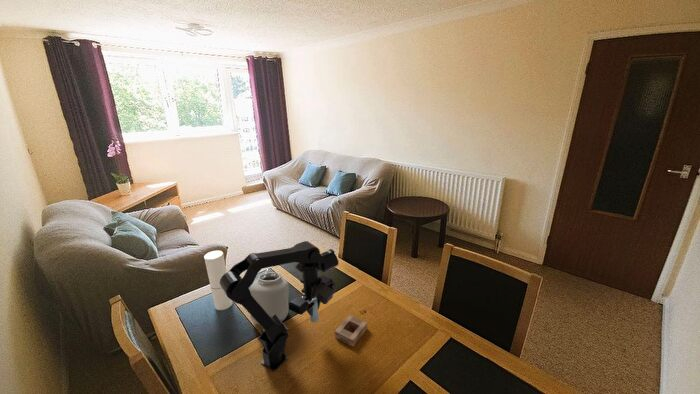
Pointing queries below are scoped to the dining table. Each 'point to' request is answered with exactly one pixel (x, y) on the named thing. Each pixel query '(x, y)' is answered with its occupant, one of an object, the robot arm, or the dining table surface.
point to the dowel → (315, 311)
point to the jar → (271, 294)
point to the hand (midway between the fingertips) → (314, 312)
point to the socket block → (348, 336)
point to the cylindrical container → (217, 278)
